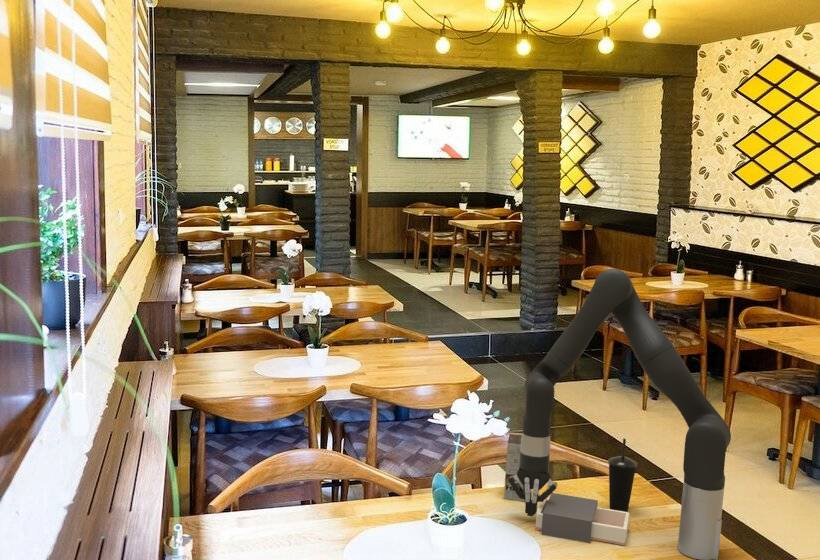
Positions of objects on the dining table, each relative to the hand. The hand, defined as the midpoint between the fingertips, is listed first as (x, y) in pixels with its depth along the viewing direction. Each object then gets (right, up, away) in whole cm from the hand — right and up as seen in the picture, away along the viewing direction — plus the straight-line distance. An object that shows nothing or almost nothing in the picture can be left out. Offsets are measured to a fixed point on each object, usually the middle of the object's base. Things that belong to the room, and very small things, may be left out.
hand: (530, 514), depth 211 cm
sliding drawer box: (+13, -3, -4) cm, 13 cm away
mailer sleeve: (+10, -2, -3) cm, 10 cm away
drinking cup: (+25, -2, +10) cm, 27 cm away
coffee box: (-1, +1, +17) cm, 18 cm away
